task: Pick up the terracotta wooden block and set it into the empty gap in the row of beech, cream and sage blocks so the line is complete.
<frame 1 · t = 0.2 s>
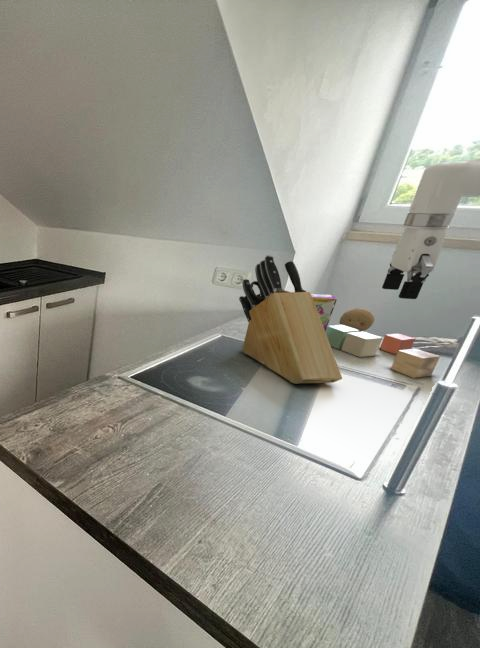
hand: (398, 293, 97), 25 cm above the counter, tool pointing down, fingers open, 9 cm apart
cream block: (357, 352, 125), on the counter
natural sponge: (350, 335, 139), on the counter
knife block: (274, 362, 120), on the counter
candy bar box: (299, 341, 135), on the counter
sage block: (337, 344, 131), on the counter
terracotta block: (394, 351, 125), on the counter
beech block: (410, 372, 111), on the counter
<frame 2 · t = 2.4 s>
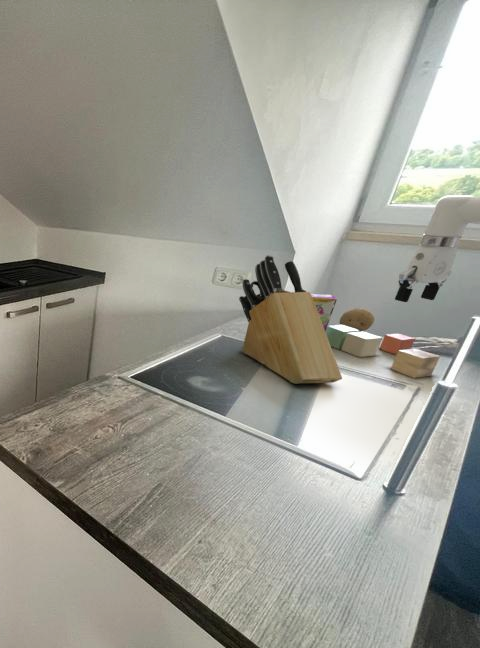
hand: (414, 299, 118), 17 cm above the counter, tool pointing down, fingers open, 9 cm apart
nothing on the counter moved.
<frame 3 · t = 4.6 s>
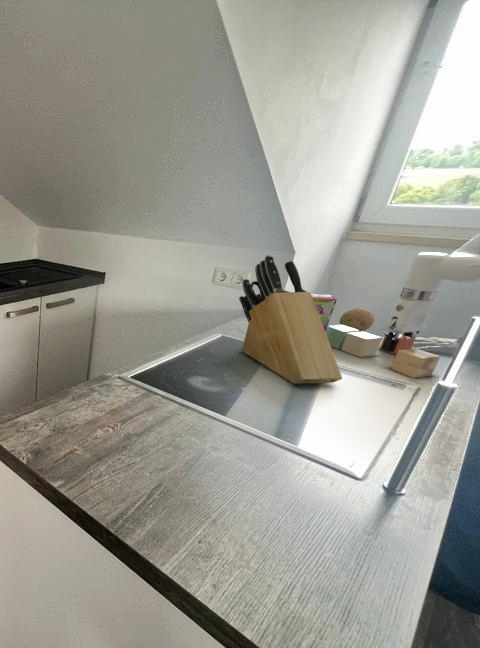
hand: (394, 349, 125), 1 cm above the counter, tool pointing down, fingers closed on terracotta block, 5 cm apart
terracotta block: (394, 351, 125), on the counter, touching gripper
everything else where it was.
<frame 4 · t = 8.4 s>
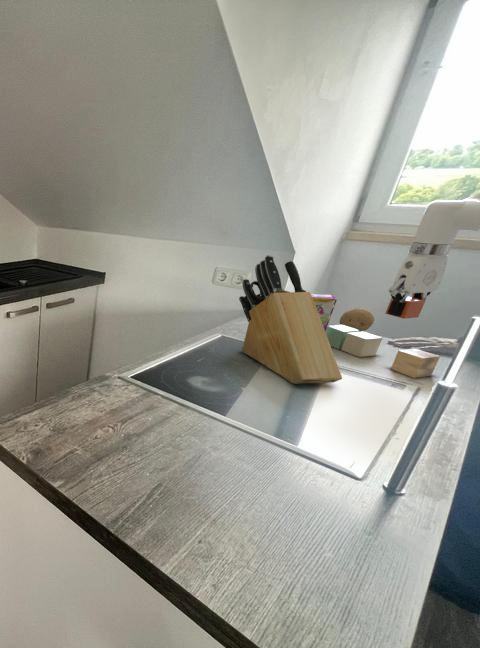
hand: (402, 313, 112), 15 cm above the counter, tool pointing down, fingers closed on terracotta block, 5 cm apart
terracotta block: (401, 315, 112), point 15 cm above the counter, touching gripper
everything else where it was.
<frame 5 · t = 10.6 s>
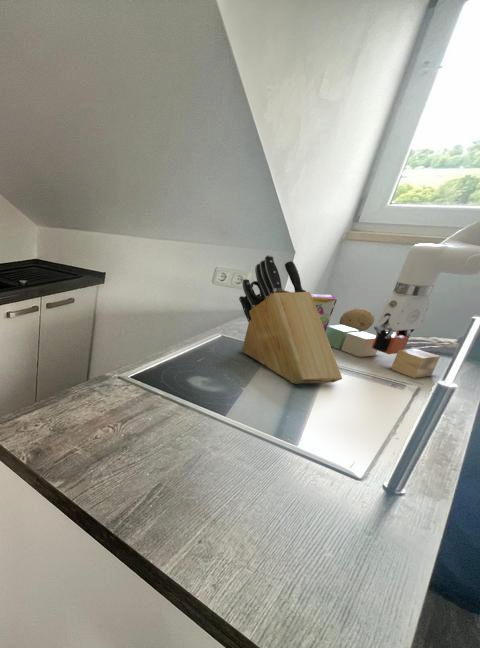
hand: (387, 348, 116), 4 cm above the counter, tool pointing down, fingers closed on terracotta block, 5 cm apart
terracotta block: (386, 350, 117), point 4 cm above the counter, touching gripper
everything else where it was.
when the fingers open (1 cm above the counter, at t = 12.0 s): terracotta block stays where it is, on the counter.
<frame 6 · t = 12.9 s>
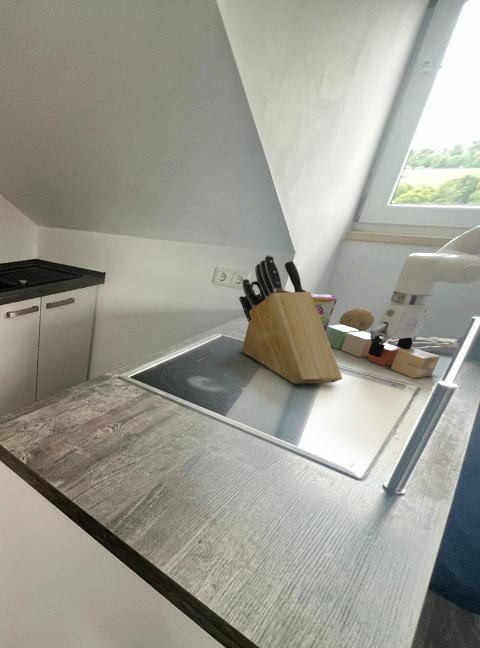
hand: (387, 353, 117), 3 cm above the counter, tool pointing down, fingers open, 9 cm apart
terracotta block: (382, 361, 118), on the counter
everything else where it was.
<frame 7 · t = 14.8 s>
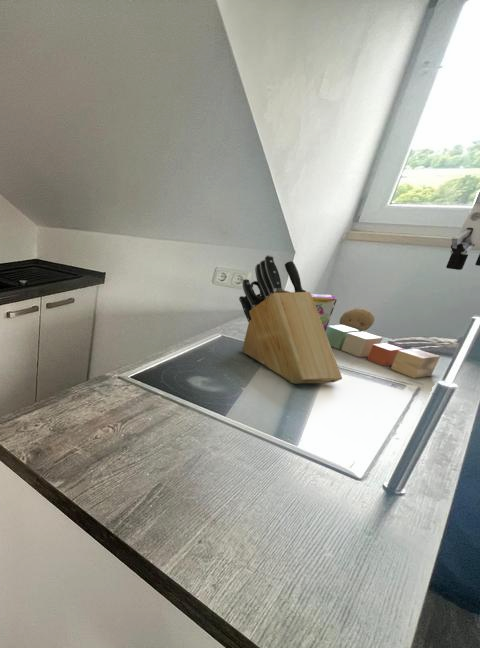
hand: (468, 267, 105), 29 cm above the counter, tool pointing down, fingers open, 9 cm apart
nothing on the counter moved.
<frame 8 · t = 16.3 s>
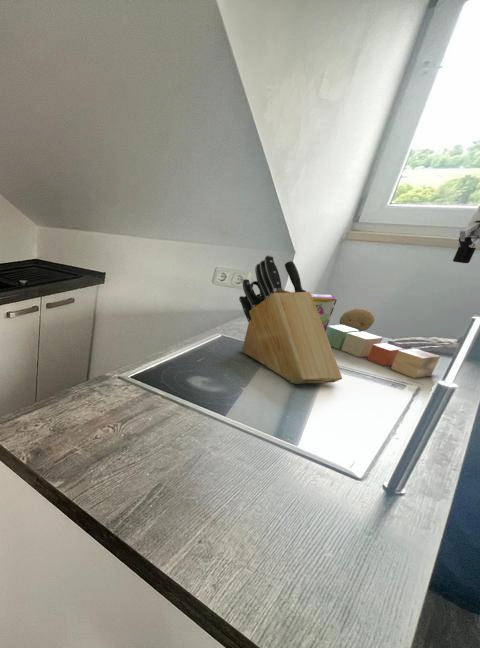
hand: (475, 261, 104), 30 cm above the counter, tool pointing down, fingers open, 9 cm apart
nothing on the counter moved.
at the end: terracotta block 0.1 cm from the target spot, on the counter; terracotta block tilted 0°; cream block moved 0.0 cm from its start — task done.
